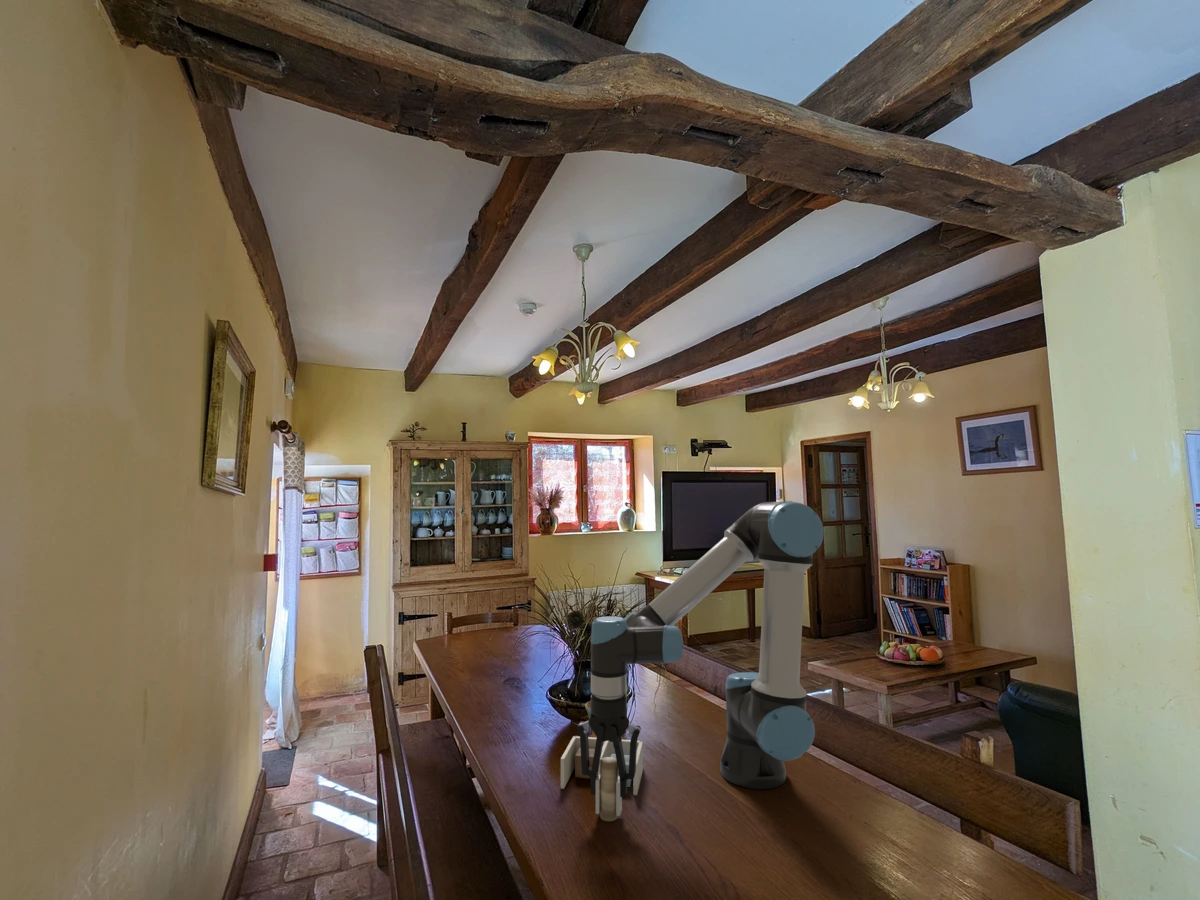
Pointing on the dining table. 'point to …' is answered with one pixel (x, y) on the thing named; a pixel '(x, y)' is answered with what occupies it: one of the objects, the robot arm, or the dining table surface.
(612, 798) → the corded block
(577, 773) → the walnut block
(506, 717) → the dining table surface
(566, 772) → the lane rack
